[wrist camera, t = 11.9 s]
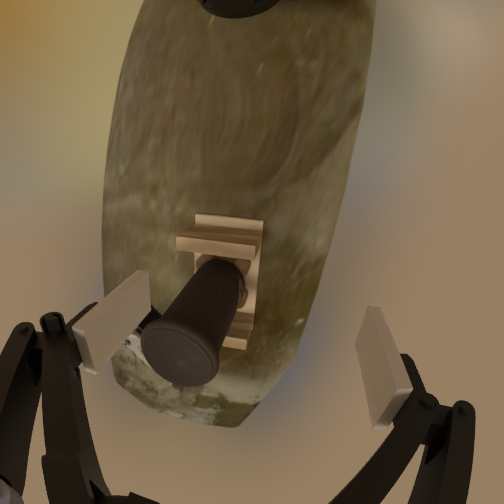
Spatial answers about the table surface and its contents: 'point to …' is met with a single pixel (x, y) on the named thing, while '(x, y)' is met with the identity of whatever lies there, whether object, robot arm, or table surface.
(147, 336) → the container
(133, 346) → the camera
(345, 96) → the table surface
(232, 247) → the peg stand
